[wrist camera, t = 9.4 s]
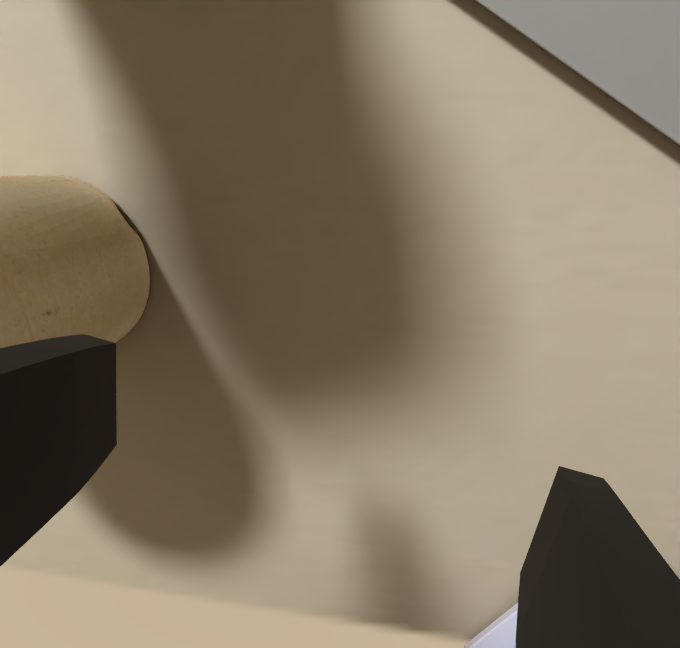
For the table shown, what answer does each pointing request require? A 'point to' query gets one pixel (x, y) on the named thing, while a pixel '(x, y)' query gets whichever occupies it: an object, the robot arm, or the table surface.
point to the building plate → (611, 48)
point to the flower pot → (66, 262)
